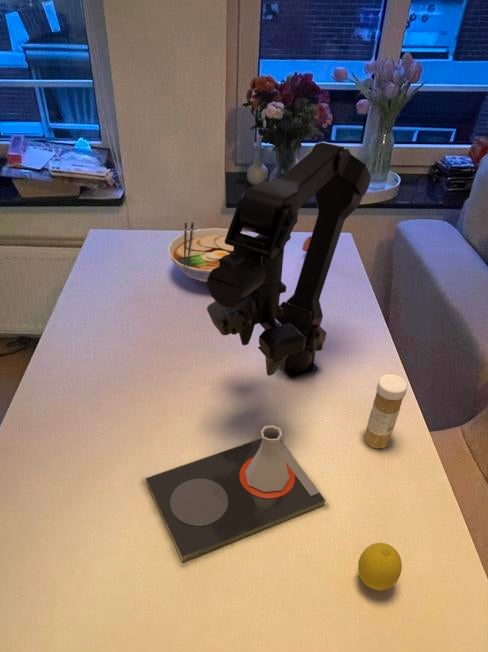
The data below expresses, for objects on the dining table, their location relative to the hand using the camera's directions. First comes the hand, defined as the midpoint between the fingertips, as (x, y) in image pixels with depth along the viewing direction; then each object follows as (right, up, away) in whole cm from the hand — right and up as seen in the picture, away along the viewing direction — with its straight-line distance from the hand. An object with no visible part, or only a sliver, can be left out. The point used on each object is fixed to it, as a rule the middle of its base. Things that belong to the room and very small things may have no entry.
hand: (257, 359), depth 90 cm
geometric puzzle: (+19, +32, +51) cm, 63 cm away
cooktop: (-4, -22, -6) cm, 23 cm away
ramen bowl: (-8, +26, +45) cm, 52 cm away
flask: (+1, -20, -5) cm, 20 cm away
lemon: (+15, -33, -16) cm, 40 cm away
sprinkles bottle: (+21, -14, +3) cm, 26 cm away
